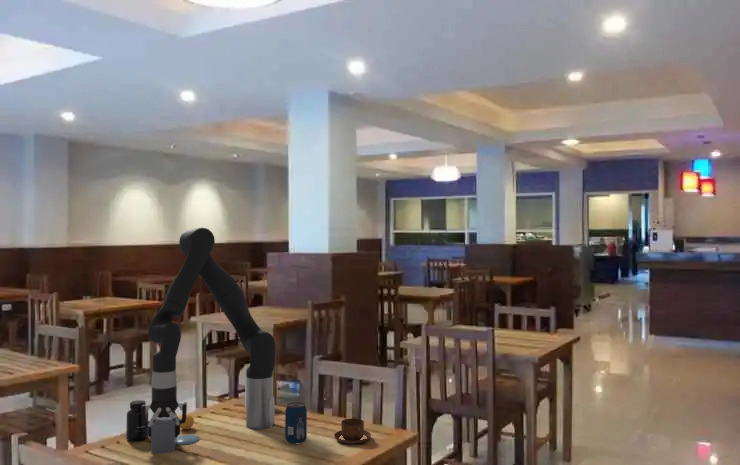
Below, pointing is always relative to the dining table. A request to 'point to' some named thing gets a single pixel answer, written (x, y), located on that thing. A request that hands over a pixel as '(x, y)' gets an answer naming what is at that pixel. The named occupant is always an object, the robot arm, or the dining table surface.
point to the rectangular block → (163, 435)
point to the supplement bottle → (136, 422)
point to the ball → (187, 422)
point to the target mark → (187, 439)
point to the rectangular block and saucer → (352, 431)
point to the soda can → (296, 422)
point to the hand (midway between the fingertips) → (164, 437)
